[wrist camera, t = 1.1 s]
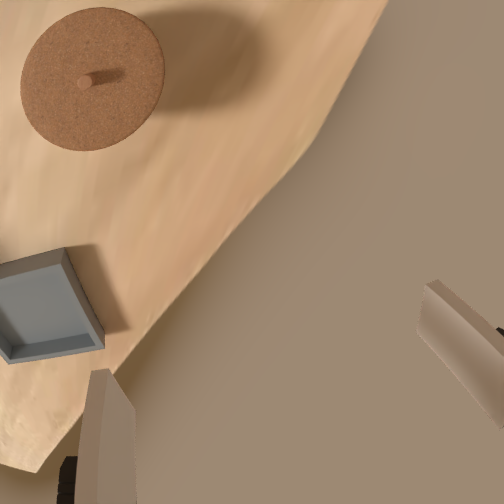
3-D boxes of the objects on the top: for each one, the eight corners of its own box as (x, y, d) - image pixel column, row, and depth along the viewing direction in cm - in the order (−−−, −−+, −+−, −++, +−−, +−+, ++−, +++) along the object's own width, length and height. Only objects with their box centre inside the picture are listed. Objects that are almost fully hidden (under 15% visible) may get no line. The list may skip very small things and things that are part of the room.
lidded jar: (170, 20, 22) (182, 9, 15) (149, 128, 28) (154, 161, 21) (56, 17, 18) (22, 9, 11) (43, 127, 24) (11, 161, 17)
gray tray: (-40, 276, 28) (-47, 291, 26) (64, 247, 32) (60, 263, 30) (11, 348, 37) (8, 364, 35) (104, 331, 41) (105, 348, 39)
